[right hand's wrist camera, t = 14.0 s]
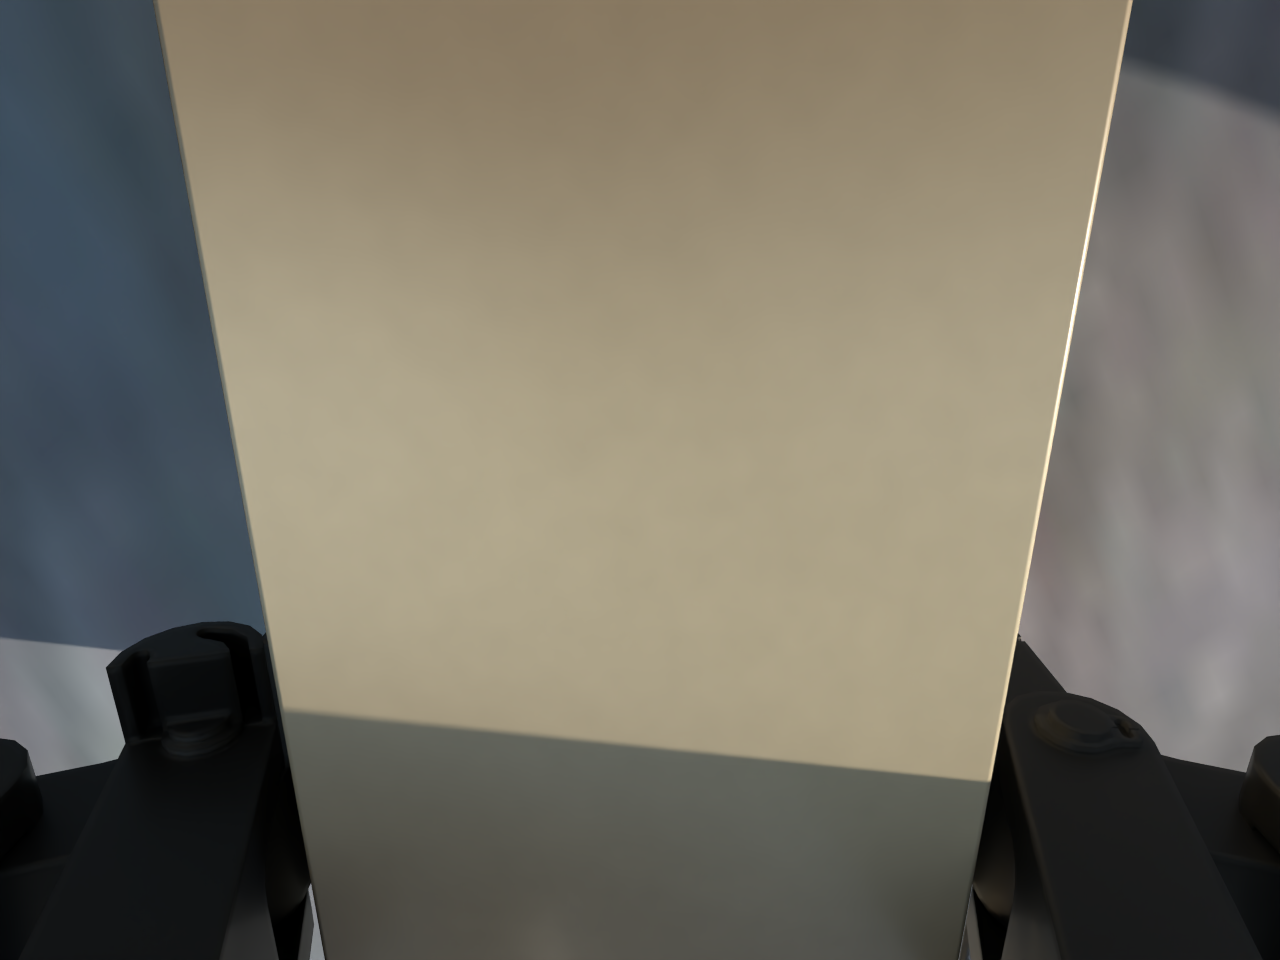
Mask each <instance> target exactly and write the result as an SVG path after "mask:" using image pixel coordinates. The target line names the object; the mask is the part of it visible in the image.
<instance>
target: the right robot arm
mask: <svg viewBox="0 0 1280 960" xmlns="http://www.w3.org/2000/svg"><path fill="white" fill-rule="evenodd" d="M106 670H107V674H108V678H109V682H110V685H111V689H112V693H113V697H114V701H115V705H116V708H117V712H118V716H119V720H120V724H121V727H122V731H123V735H124V739H125V743H126V744H125V746H124V748H123V750H122V752H121V754H120V756H119V758H118V759H116V760H112V761H108V762H104V763H100V764H95V765H90V766H85V767H80V768H75V769H70V770H65V771H60V772H55V773H50V774H45V775H40V776H35V773H34V770H33V766H32V763H31V760H30V757H29V754H28V750H27V749H25V748H24V747H23V746H21V745H20V744H19V743H17V742H16V741H15V740H8V739H0V960H309V959H310V951H311V944H312V936H313V928H314V922H313V914H312V907H311V902H310V896H309V891H308V888H309V886H310V884H311V879H310V874H309V868H308V862H307V857H306V851H305V846H304V840H303V835H302V829H301V823H300V818H299V812H298V807H297V801H296V796H295V790H294V784H293V779H292V773H291V768H290V762H289V757H288V751H287V745H286V740H285V734H284V729H283V723H282V718H281V712H280V706H279V701H278V695H277V690H276V684H275V679H274V673H273V667H272V662H271V656H270V651H269V645H268V640H267V634H266V633H265V634H264V635H263V637H262V635H261V634H260V633H259V632H257V631H256V630H255V629H253V628H252V627H251V626H248V625H244V624H239V623H234V622H229V621H227V622H201V623H196V624H191V625H186V626H181V627H176V628H172V629H169V630H166V631H164V632H161V633H158V634H155V635H153V636H150V637H147V638H145V639H143V640H141V641H139V642H138V643H136V644H134V645H132V646H131V647H129V648H127V649H126V650H124V651H122V652H121V653H120V654H119V655H118V656H117V657H116V658H115V659H114V660H113V661H112V662H111V663H110V664H109V665H108V666H107V667H106ZM959 960H1280V735H1276V736H1268V737H1266V738H1265V739H1263V740H1262V741H1261V742H1259V743H1258V744H1257V745H1255V746H1254V749H1253V752H1252V756H1251V759H1250V762H1249V765H1248V768H1247V772H1246V773H1245V772H1240V771H1235V770H1230V769H1225V768H1220V767H1215V766H1209V765H1204V764H1199V763H1194V762H1189V761H1184V760H1179V759H1175V758H1171V757H1168V756H1164V755H1161V754H1160V752H1159V750H1158V748H1157V746H1156V744H1155V742H1154V741H1153V740H1152V739H1151V737H1150V736H1149V735H1148V734H1147V732H1146V731H1145V730H1144V729H1143V727H1142V726H1141V725H1140V724H1138V723H1137V722H1135V721H1134V720H1132V719H1131V718H1129V717H1128V716H1126V715H1125V714H1124V713H1122V712H1121V711H1119V710H1117V709H1115V708H1113V707H1110V706H1108V705H1106V704H1103V703H1101V702H1099V701H1096V700H1094V699H1092V698H1088V697H1083V696H1079V695H1075V694H1070V693H1067V692H1066V691H1065V690H1064V689H1063V687H1062V686H1061V685H1060V684H1059V683H1058V681H1057V680H1056V679H1055V678H1054V676H1053V675H1052V674H1051V673H1050V672H1049V670H1048V669H1047V668H1046V667H1045V665H1044V664H1043V663H1042V662H1041V661H1040V659H1039V658H1038V657H1037V656H1036V654H1035V653H1034V652H1033V651H1032V650H1031V648H1030V647H1029V646H1028V645H1027V643H1026V642H1025V641H1021V636H1020V635H1019V634H1018V635H1017V640H1016V646H1015V651H1014V657H1013V662H1012V668H1011V673H1010V679H1009V684H1008V690H1007V695H1006V701H1005V706H1004V712H1003V717H1002V723H1001V728H1000V734H999V739H998V745H997V750H996V756H995V761H994V767H993V772H992V778H991V783H990V789H989V794H988V800H987V805H986V811H985V816H984V822H983V827H982V833H981V838H980V844H979V849H978V855H977V860H976V866H975V871H974V877H973V882H972V891H971V896H970V902H969V907H968V912H967V918H966V923H965V929H964V934H963V940H962V945H961V951H960V956H959Z"/></svg>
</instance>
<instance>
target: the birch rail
mask: <svg viewBox="0 0 1280 960" xmlns="http://www.w3.org/2000/svg"><path fill="white" fill-rule="evenodd" d="M1132 2H1133V0H153V5H154V10H155V16H156V21H157V27H158V33H159V38H160V44H161V49H162V55H163V60H164V66H165V72H166V77H167V83H168V88H169V94H170V99H171V105H172V111H173V116H174V122H175V127H176V133H177V138H178V144H179V150H180V155H181V161H182V166H183V172H184V177H185V183H186V188H187V194H188V200H189V205H190V211H191V216H192V222H193V227H194V233H195V239H196V244H197V250H198V255H199V261H200V266H201V272H202V278H203V283H204V289H205V294H206V300H207V305H208V311H209V317H210V322H211V328H212V333H213V339H214V344H215V350H216V356H217V361H218V367H219V372H220V378H221V383H222V389H223V395H224V400H225V406H226V411H227V417H228V422H229V428H230V434H231V439H232V445H233V450H234V456H235V461H236V467H237V473H238V478H239V484H240V489H241V495H242V500H243V506H244V512H245V517H246V523H247V528H248V534H249V539H250V545H251V550H252V556H253V562H254V567H255V573H256V578H257V584H258V589H259V595H260V601H261V606H262V612H263V617H264V623H265V628H266V634H267V640H268V645H269V651H270V656H271V662H272V667H273V673H274V679H275V684H276V690H277V695H278V701H279V706H280V712H281V718H282V723H283V729H284V734H285V740H286V745H287V751H288V757H289V762H290V768H291V773H292V779H293V784H294V790H295V796H296V801H297V807H298V812H299V818H300V823H301V829H302V835H303V840H304V846H305V851H306V857H307V862H308V868H309V874H310V879H311V885H312V890H313V896H314V901H315V907H316V912H317V918H318V924H319V929H320V935H321V940H322V946H323V951H324V957H325V960H958V959H959V954H960V948H961V943H962V937H963V932H964V926H965V921H966V915H967V910H968V904H969V899H970V893H971V888H972V882H973V877H974V871H975V866H976V860H977V855H978V849H979V844H980V838H981V833H982V827H983V822H984V816H985V811H986V805H987V800H988V794H989V789H990V783H991V778H992V772H993V767H994V761H995V756H996V750H997V745H998V739H999V734H1000V728H1001V723H1002V717H1003V712H1004V706H1005V701H1006V695H1007V690H1008V684H1009V679H1010V673H1011V668H1012V662H1013V657H1014V651H1015V646H1016V640H1017V635H1018V629H1019V624H1020V618H1021V613H1022V607H1023V602H1024V596H1025V591H1026V585H1027V580H1028V574H1029V569H1030V563H1031V557H1032V552H1033V546H1034V541H1035V535H1036V530H1037V524H1038V519H1039V513H1040V508H1041V502H1042V497H1043V491H1044V486H1045V480H1046V475H1047V469H1048V464H1049V458H1050V453H1051V447H1052V442H1053V436H1054V431H1055V425H1056V420H1057V414H1058V409H1059V403H1060V398H1061V392H1062V387H1063V381H1064V376H1065V370H1066V365H1067V359H1068V354H1069V348H1070V343H1071V337H1072V332H1073V326H1074V321H1075V315H1076V310H1077V304H1078V299H1079V293H1080V288H1081V282H1082V277H1083V271H1084V266H1085V260H1086V255H1087V249H1088V244H1089V238H1090V233H1091V227H1092V222H1093V216H1094V211H1095V205H1096V200H1097V194H1098V189H1099V183H1100V178H1101V172H1102V167H1103V161H1104V156H1105V150H1106V145H1107V139H1108V134H1109V128H1110V123H1111V117H1112V112H1113V106H1114V101H1115V95H1116V90H1117V84H1118V79H1119V73H1120V68H1121V62H1122V57H1123V51H1124V46H1125V40H1126V35H1127V29H1128V24H1129V18H1130V13H1131V7H1132Z"/></svg>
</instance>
